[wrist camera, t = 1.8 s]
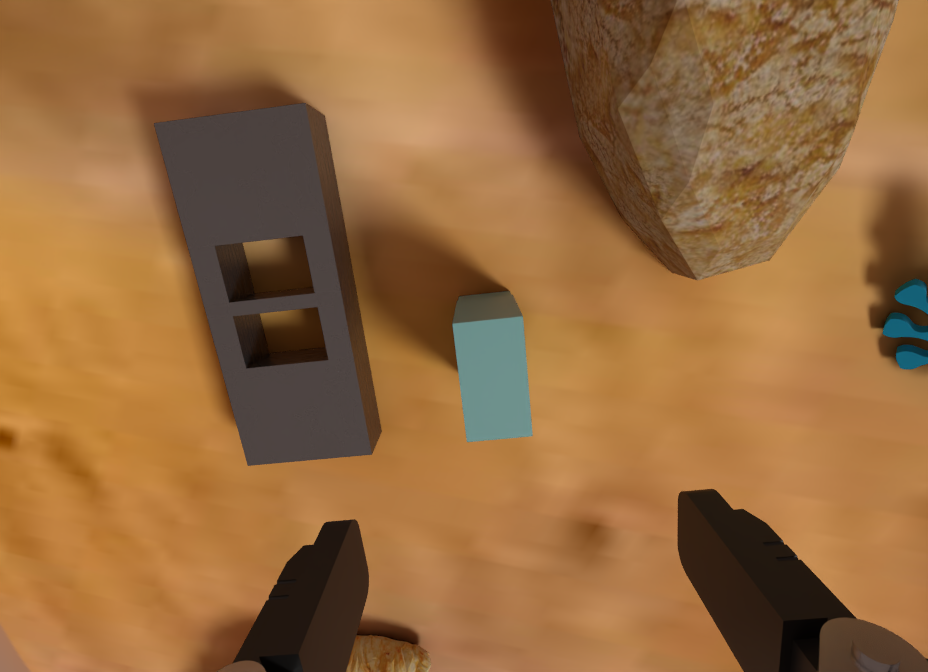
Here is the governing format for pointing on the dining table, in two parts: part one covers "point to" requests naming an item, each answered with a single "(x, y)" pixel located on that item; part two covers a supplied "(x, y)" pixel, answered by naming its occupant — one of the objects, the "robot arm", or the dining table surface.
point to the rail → (237, 306)
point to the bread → (718, 114)
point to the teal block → (492, 366)
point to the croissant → (387, 656)
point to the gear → (909, 324)
